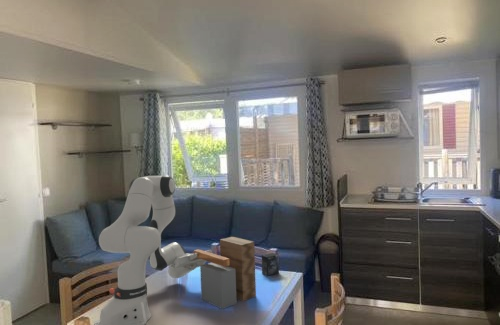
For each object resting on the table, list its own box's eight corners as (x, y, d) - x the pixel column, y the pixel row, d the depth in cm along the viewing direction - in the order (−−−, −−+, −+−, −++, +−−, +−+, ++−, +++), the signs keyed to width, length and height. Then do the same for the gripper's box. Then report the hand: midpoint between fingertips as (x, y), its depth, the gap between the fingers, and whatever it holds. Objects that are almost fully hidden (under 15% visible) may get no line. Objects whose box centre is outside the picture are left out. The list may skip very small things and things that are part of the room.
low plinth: (222, 308, 171) (221, 272, 170) (201, 299, 183) (200, 265, 182) (236, 303, 176) (235, 268, 175) (215, 294, 188) (213, 261, 187)
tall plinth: (243, 301, 179) (241, 245, 178) (221, 292, 191) (219, 239, 190) (255, 296, 184) (254, 241, 183) (234, 287, 196) (232, 236, 195)
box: (267, 276, 212) (267, 257, 211) (261, 273, 216) (261, 254, 216) (279, 273, 216) (278, 254, 216) (273, 270, 221) (272, 252, 220)
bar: (224, 266, 172) (224, 260, 172) (193, 256, 190) (193, 250, 190) (229, 265, 174) (229, 258, 174) (198, 255, 192) (198, 249, 192)
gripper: (167, 261, 191) (180, 251, 182) (202, 252, 205) (215, 243, 196) (171, 273, 189) (184, 264, 180) (206, 264, 203) (219, 255, 194)
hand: (201, 253), depth 188 cm, fingers closed on bar, 3 cm apart
